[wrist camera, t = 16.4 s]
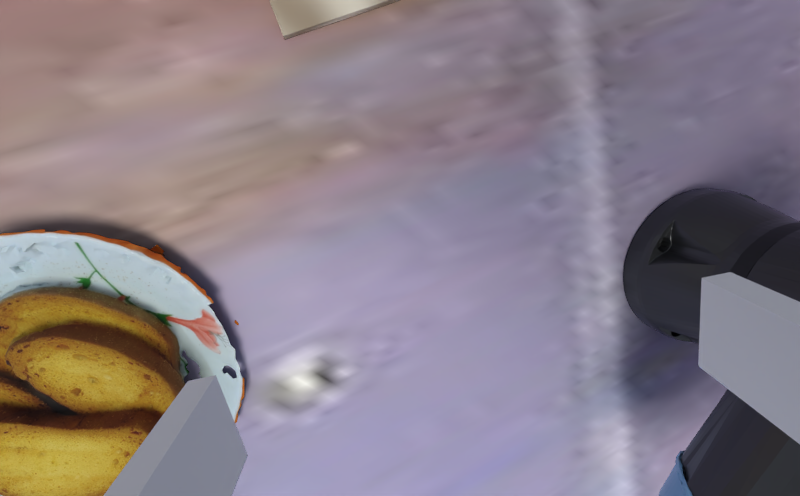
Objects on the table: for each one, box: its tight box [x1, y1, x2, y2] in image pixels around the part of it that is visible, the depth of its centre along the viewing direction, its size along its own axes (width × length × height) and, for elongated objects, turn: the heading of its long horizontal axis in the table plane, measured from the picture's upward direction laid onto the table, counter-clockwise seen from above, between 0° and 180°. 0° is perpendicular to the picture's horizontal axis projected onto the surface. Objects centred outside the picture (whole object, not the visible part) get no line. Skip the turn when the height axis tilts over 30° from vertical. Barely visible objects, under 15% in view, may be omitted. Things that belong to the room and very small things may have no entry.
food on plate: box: [0, 229, 244, 496], centre depth 31 cm, size 25×25×7 cm
